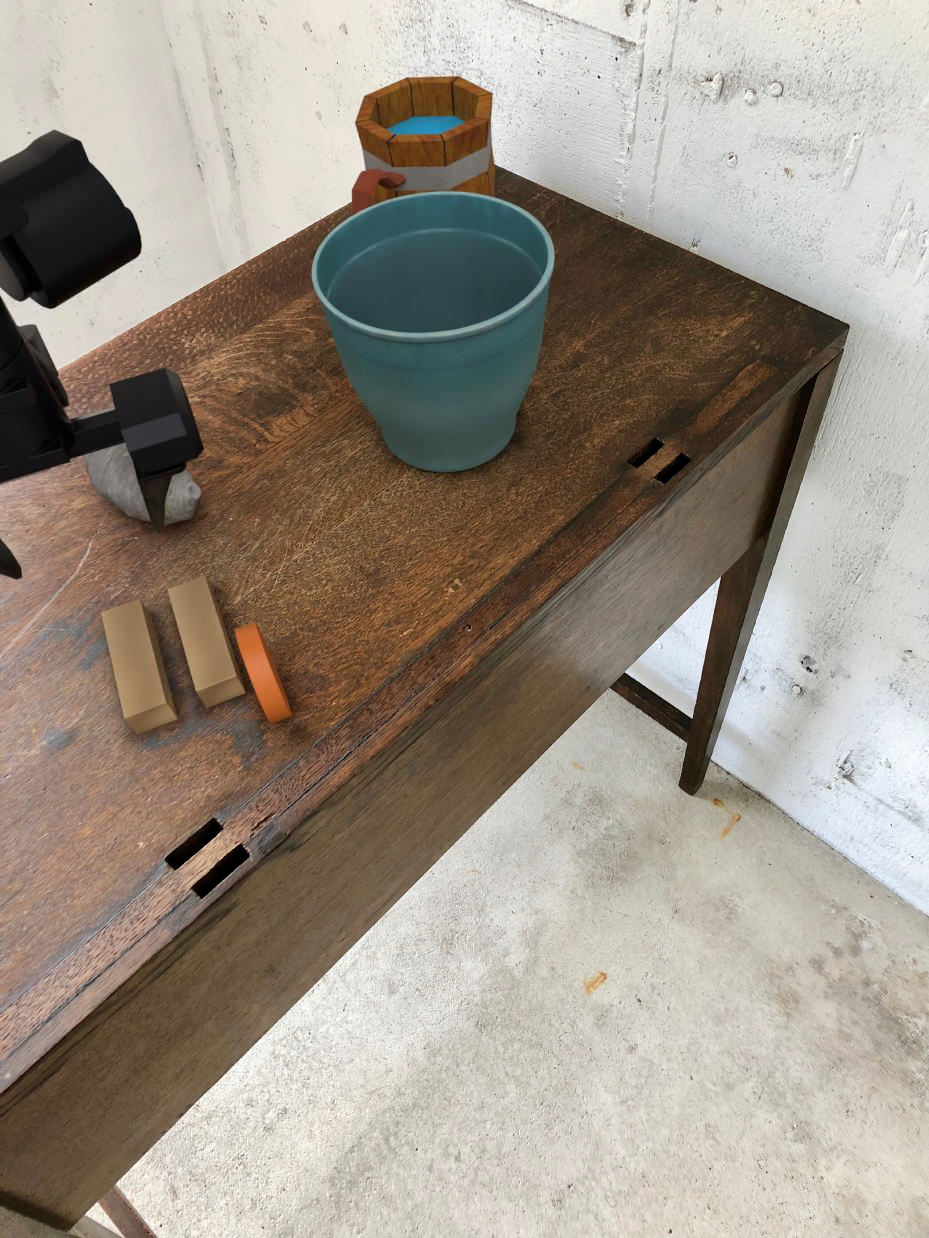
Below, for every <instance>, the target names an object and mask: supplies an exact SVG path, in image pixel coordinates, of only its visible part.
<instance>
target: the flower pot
mask: <svg viewBox="0 0 929 1238" xmlns="http://www.w3.org/2000/svg"><path fill="white" fill-rule="evenodd" d="M323 239H324V240H323V241H322V242H321V244H319V246H318V248H317V250H316V252H315V255H314V257H313V261H312V266H311V282H312V286H313V289H314V292H315V295H316V297H317V299H318V301H319V303H320V304H321V306H322V309H323V313H324V315H325V318H326V322H327V324H328V326H329V328H330V331H331V334H332V338H333V341H334V344H335V347H336V350H337V353H338V356H339V359H340V362H341V364H342V366H343V369H344V373H345V374H346V376H347V379H348V381H349V383H350V384H351V387H352V388H353V390H354V392H355V394H356V396H357V397H358V399H359V400H360V402H361V403H362V405H363V406H364V408H366V411H368V413H369V414H370V415H371V416H372V418H373V420H374V421H375V423H376V424H377V425H378V427H379V428H380V430H381V435H382V438H383V441H384V443H385V445H386V447H387V448H388V449H389V451H390V452H391V453H392V454H393V455H394V456H395V457H396V458H398V459H399V460H400V461H401V462H403V463H405V464H407V465H409V466H411V467H414V468H416V469H419V470H424V471H428V472H435V473H455V472H462V471H466V470H470V469H473V468H476V467H479V466H482V465H483V464H486V463H487V462H489V461H490V460H492V459H493V458H495V457H496V456H498V454H500V453H501V452H502V451H503V450H504V449H505V448H506V447H507V445H508V444H509V443H510V441H511V439H512V438H513V435H514V432H515V429H516V426H517V425H516V424H517V415H518V413H519V411H520V407H521V405H522V403H523V400H524V398H525V397H526V394H527V392H528V390H529V388H530V385H531V382H532V380H533V377H534V375H535V372H536V368H537V365H538V362H539V358H540V354H541V353H540V352H541V349H542V342H543V336H544V329H545V319H546V308H547V304H548V301H549V300H548V299H549V291H550V281H551V279H552V277H553V273H554V269H555V259H556V257H555V246H554V244H553V240H552V238H551V236H550V234H549V232H548V230H547V229H546V228H545V227H544V225H543V224H542V223H541V222H540V221H539V219H537V218H536V217H535V216H533V214H531V213H530V212H529V211H527V210H525V209H523V208H522V207H520V206H518V205H516V204H514V203H511V202H509V201H507V200H503V199H501V198H496V197H495V196H494V197H490V196H486V195H481V194H476V193H468V192H454V191H439V192H426V193H418V194H412V195H406V196H401V197H397V198H394V199H390V200H387V201H384V202H381V203H378V204H376V205H373V206H371V207H369V208H366V209H364V210H362V211H360V212H358V213H356V214H355V215H353V214H352V215H351V216H350V217H348V218H346V219H345V220H344V221H342V222H341V223H340V224H338V225H337V226H336V227H335V228H333V229H332V230H331V232H329V233H328V234H327V236H326V237H325V238H323Z"/></svg>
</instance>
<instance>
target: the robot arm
mask: <svg viewBox="0 0 929 1238" xmlns="http://www.w3.org/2000/svg"><path fill="white" fill-rule="evenodd" d="M142 242H143V241H142V236H141V232H140V228H139V225H138V223H137V220H136V218H135V215H134V214H133V212H132V210H131V209H130V208H129V207H127V206H125V204H124V202H123V200H122V198H121V197H120V196H119V194H118V193H117V190H115V188H114V187H113V185H112V184H111V183H110V181H109V180H108V178H106V177H105V175H104V174H103V173H102V172H101V171H100V170H99V168H97V167H96V166H95V165H94V164H93V163H92V162H91V161H90V160H89V156H88V154H87V152H86V149H85V147H84V144H83V142H82V141H81V140H79V139H78V138H75V137H73V136H70V135H69V134H66V133H64V132H61V131H59V130H57V129H52V130H50V131H48V132H46V133H43V135H40V136H38V137H36V138H35V139H34V140H33V141H32V142H31V143H30V144H29V145H27V147H25V148H23V150H21V151H19V152H16V153H15V154H13V155H11V156H9V157H8V158H5V159H3V160H2V161H0V289H1V290H2V291H3V292H4V293H5V294H6V295H8V296H9V297H10V298H11V299H13V300H14V301H17V302H19V303H23V302H25V301H26V300H28V299H29V298H30V299H31V300H32V301H33V302H35V303H36V304H38V305H39V306H41V307H43V308H45V309H48V310H53V309H56V308H58V307H60V305H63V304H64V303H66V302H67V301H69V300H71V299H73V298H74V297H75V296H77V295H78V294H80V293H82V292H83V291H85V290H87V289H88V288H90V287H92V286H93V285H95V284H97V283H98V282H100V281H101V280H103V279H105V278H106V277H108V276H109V275H111V274H113V273H115V271H117V270H119V269H121V268H122V267H124V266H126V265H127V264H129V263H130V262H132V261H134V260H136V259H137V258H138V257H139V256H140V255H141V254H142V249H143V248H142V247H143V243H142ZM58 371H59V370H58V369H57V367H56V365H55V363H54V360H53V358H52V356H51V354H50V352H49V350H48V347H47V346H46V343H45V341H44V339H43V337H42V334H41V333H40V330H39V328H38V326H37V325H36V323H35V324H34V323H28V324H24V325H20V326H19V325H17V323H16V321H15V319H14V317H13V315H12V313H11V312H10V310H9V308H8V306H7V305H6V303H5V301H4V299H3V297H2V296H1V295H0V486H2V485H6V484H8V483H12V482H15V481H19V480H22V479H26V478H28V477H32V476H36V475H39V474H42V473H45V472H48V471H49V470H51V469H52V468H55V467H60V466H62V465H66V464H69V463H72V461H71V460H72V459H76V458H79V457H82V456H84V455H86V454H89V453H92V452H96V451H99V450H102V449H106V448H109V447H112V446H116V445H119V444H122V443H125V444H126V447H127V449H128V452H129V454H130V456H131V458H132V461H133V465H134V469H135V473H136V477H137V481H138V484H139V487H140V490H141V493H142V496H143V499H144V502H145V505H146V508H147V511H148V514H149V517H150V520H151V522H150V523H151V526H152V527H153V529H154V530H155V532H156V533H157V534H158V535H160V534H163V533H165V526H164V521H165V501H166V496H167V493H168V489H169V486H170V482H171V479H172V477H173V476H174V475H176V474H179V473H182V472H183V471H184V470H186V469H187V467H188V464H187V462H190V461H193V460H196V459H198V458H199V457H200V455H202V453H204V451H205V447H204V443H203V441H202V437H201V434H200V431H199V428H198V424H197V422H196V418H195V415H194V412H193V409H192V406H191V403H190V399H189V397H188V394H187V392H186V389H185V387H184V384H183V382H182V378H181V377H180V375H179V374H178V373H177V372H175V371H172V370H171V369H169V368H167V367H162V368H159V369H155V370H152V371H148V372H144V373H141V374H137V375H133V376H130V377H126V378H123V379H119V380H116V381H113V382H110V383H108V386H109V389H110V394H111V399H112V402H113V406H111V407H107V408H103V409H100V410H97V411H93V412H91V413H90V412H89V413H87V414H83V415H80V416H76V417H73V418H70V417H69V415H68V414H67V412H66V410H65V408H67V407H70V402H69V396H68V392H67V391H66V388H65V387H64V385H63V383H62V381H61V380H60V378H59V375H60V374H59V372H58ZM0 575H1V576H5V577H7V578H10V579H13V580H16V581H17V580H20V579H22V578H23V571H22V566H21V564H20V563H19V561H18V560H17V558H16V556H15V555H14V554H13V552H12V550H11V549H10V548H9V546H8V545H7V544H6V543H5V542H4V541H3V540H2V538H0Z"/></svg>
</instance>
